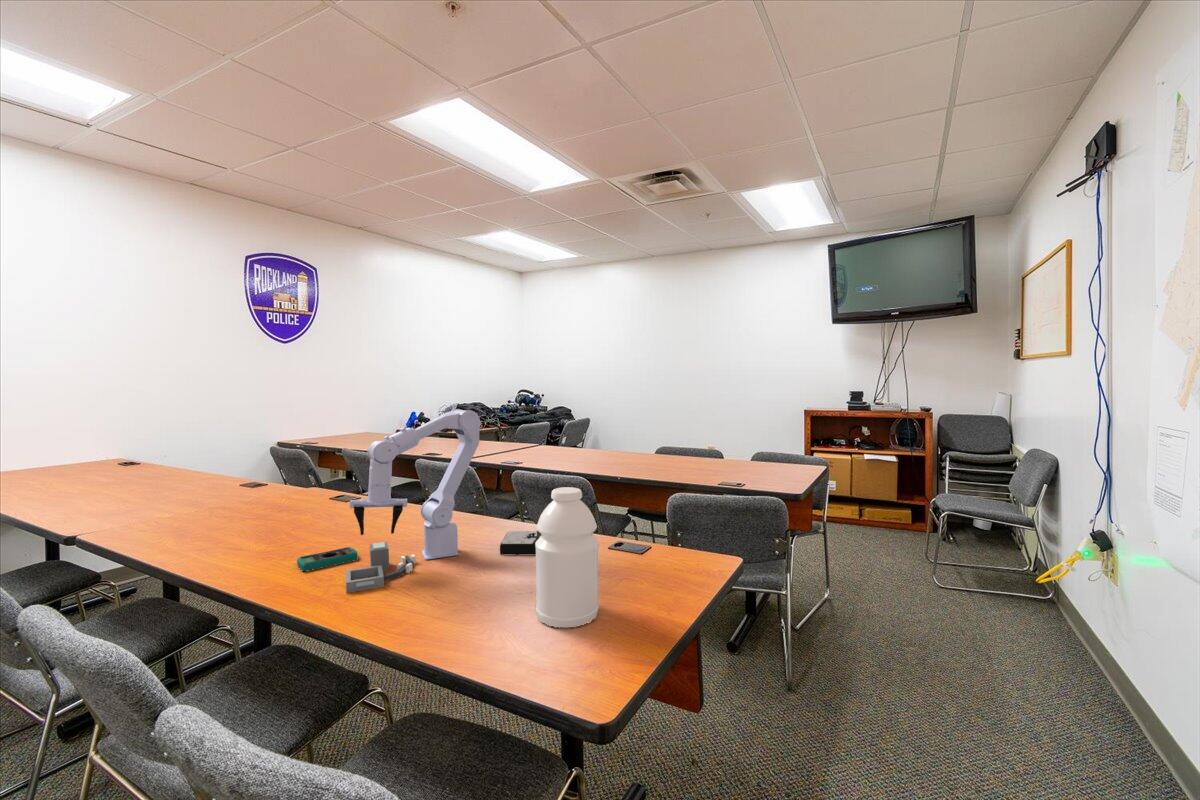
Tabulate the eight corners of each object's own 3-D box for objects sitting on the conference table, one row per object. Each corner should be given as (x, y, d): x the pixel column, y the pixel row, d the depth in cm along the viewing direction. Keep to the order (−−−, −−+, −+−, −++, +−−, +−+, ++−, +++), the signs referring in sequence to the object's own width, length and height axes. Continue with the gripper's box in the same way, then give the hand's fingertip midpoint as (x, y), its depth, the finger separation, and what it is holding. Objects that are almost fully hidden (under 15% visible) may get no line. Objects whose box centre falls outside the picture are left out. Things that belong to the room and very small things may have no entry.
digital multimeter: (360, 561, 150) (359, 551, 150) (302, 574, 140) (302, 563, 140) (352, 554, 155) (352, 545, 155) (296, 566, 145) (295, 556, 145)
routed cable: (423, 559, 149) (423, 552, 149) (400, 581, 133) (400, 574, 133) (404, 559, 150) (404, 552, 149) (380, 581, 134) (379, 574, 133)
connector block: (387, 563, 147) (387, 540, 147) (389, 570, 142) (388, 547, 141) (370, 565, 145) (369, 543, 145) (371, 572, 140) (370, 549, 139)
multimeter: (564, 556, 153) (564, 539, 153) (499, 556, 153) (499, 539, 153) (566, 541, 167) (566, 526, 166) (507, 542, 167) (507, 526, 166)
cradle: (381, 574, 139) (381, 565, 138) (383, 587, 130) (383, 577, 130) (346, 579, 135) (346, 570, 135) (346, 593, 126) (346, 583, 126)
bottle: (591, 632, 107) (591, 498, 106) (527, 627, 109) (526, 496, 108) (603, 603, 121) (603, 484, 120) (545, 598, 123) (545, 482, 122)
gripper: (349, 487, 136) (347, 538, 136) (408, 486, 142) (405, 535, 142) (351, 482, 143) (349, 531, 143) (407, 482, 148) (405, 529, 148)
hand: (377, 533), depth 143 cm, fingers open, 7 cm apart
